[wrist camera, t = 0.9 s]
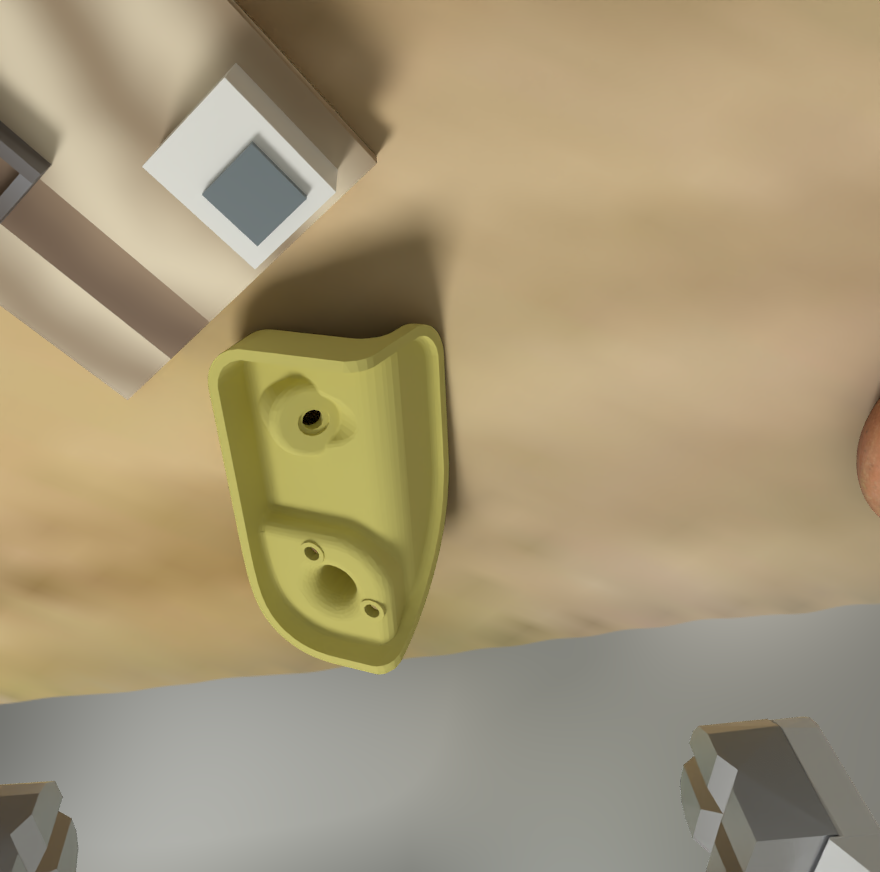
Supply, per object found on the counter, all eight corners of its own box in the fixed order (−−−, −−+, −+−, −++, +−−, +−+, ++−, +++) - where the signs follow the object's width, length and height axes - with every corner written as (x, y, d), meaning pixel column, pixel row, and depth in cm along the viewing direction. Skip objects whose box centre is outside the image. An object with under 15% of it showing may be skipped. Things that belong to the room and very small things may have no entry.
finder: (159, 145, 36) (139, 169, 32) (236, 62, 34) (223, 78, 31) (262, 241, 38) (254, 272, 35) (337, 169, 37) (335, 195, 34)
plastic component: (199, 344, 40) (383, 366, 36) (277, 295, 46) (441, 310, 42) (260, 644, 50) (410, 683, 46) (318, 571, 55) (455, 601, 52)
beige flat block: (82, -166, 30) (59, -171, 28) (376, 156, 38) (377, 172, 36) (-166, 163, 36) (-201, 181, 34) (132, 388, 43) (120, 414, 41)
